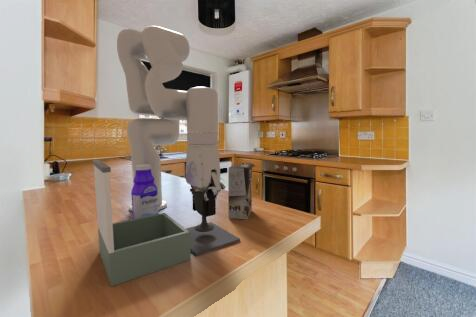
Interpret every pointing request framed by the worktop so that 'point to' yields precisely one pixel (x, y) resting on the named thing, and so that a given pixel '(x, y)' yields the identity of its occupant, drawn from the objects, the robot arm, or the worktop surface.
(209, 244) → the mat
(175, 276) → the worktop surface
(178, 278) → the worktop surface
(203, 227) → the sundae
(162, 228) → the open box
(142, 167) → the bottle
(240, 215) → the coffee box
